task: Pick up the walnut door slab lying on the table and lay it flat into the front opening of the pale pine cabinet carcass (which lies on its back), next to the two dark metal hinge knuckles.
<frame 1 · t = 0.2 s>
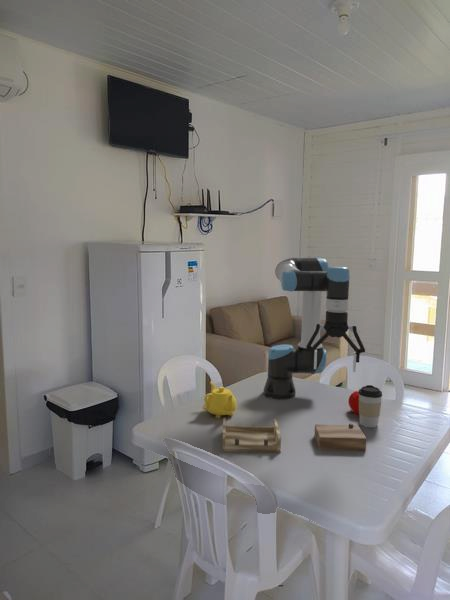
hand: (334, 369, 160), 27 cm above the table, fingers open, 13 cm apart
teapot: (219, 414, 188), on the table
coffee cup: (368, 424, 179), on the table
tomato: (362, 413, 191), on the table
carcass: (250, 441, 162), on the table
door: (339, 444, 162), on the table
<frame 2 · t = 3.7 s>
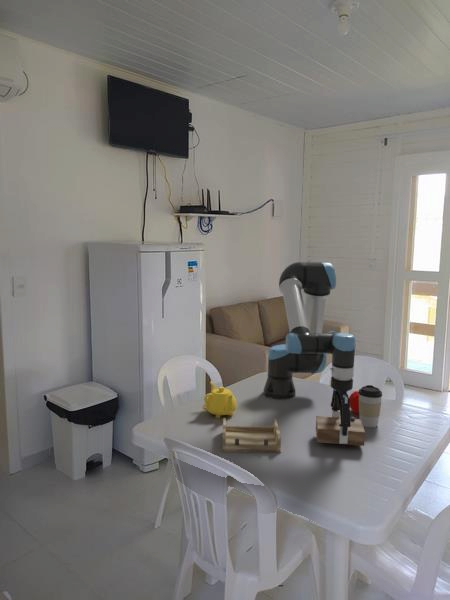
hand: (339, 435, 162), 3 cm above the table, fingers closed on door, 11 cm apart
door: (338, 436, 162), point 2 cm above the table, touching gripper
everything else where it was.
when the fingers open (3 cm above the table, at t = 9.4 s): door drops 2 cm, resting on carcass.
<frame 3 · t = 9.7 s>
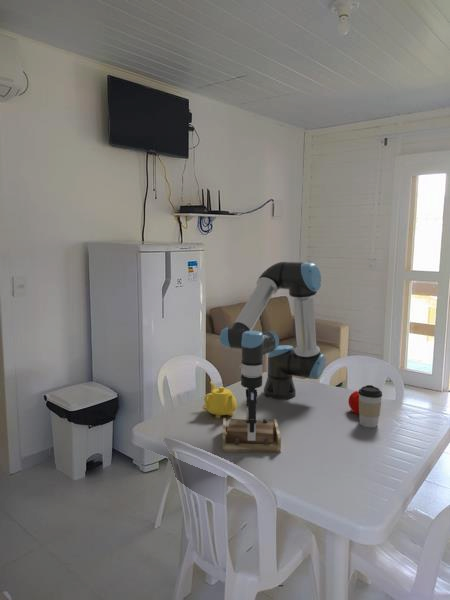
hand: (250, 432, 162), 4 cm above the table, fingers open, 13 cm apart
door: (250, 439, 162), point 1 cm above the table, touching carcass
everything else where it was.
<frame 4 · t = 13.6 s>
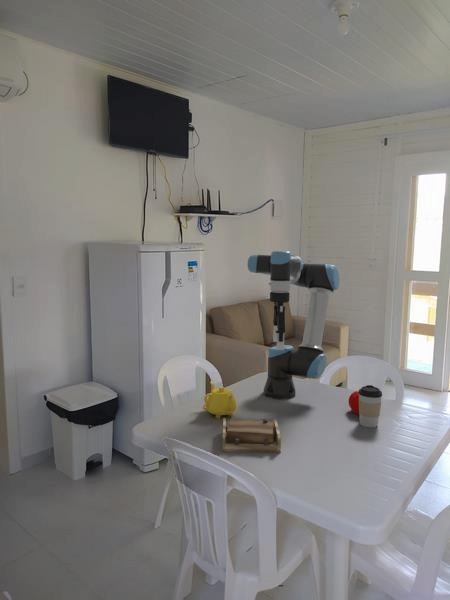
hand: (278, 345, 175), 32 cm above the table, fingers open, 13 cm apart
nothing on the table moved.
at the end: door 0.0 cm off-centre on the carcass, point 1.0 cm above the carcass's base; door tilted 0°; the gripper is holding nothing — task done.
